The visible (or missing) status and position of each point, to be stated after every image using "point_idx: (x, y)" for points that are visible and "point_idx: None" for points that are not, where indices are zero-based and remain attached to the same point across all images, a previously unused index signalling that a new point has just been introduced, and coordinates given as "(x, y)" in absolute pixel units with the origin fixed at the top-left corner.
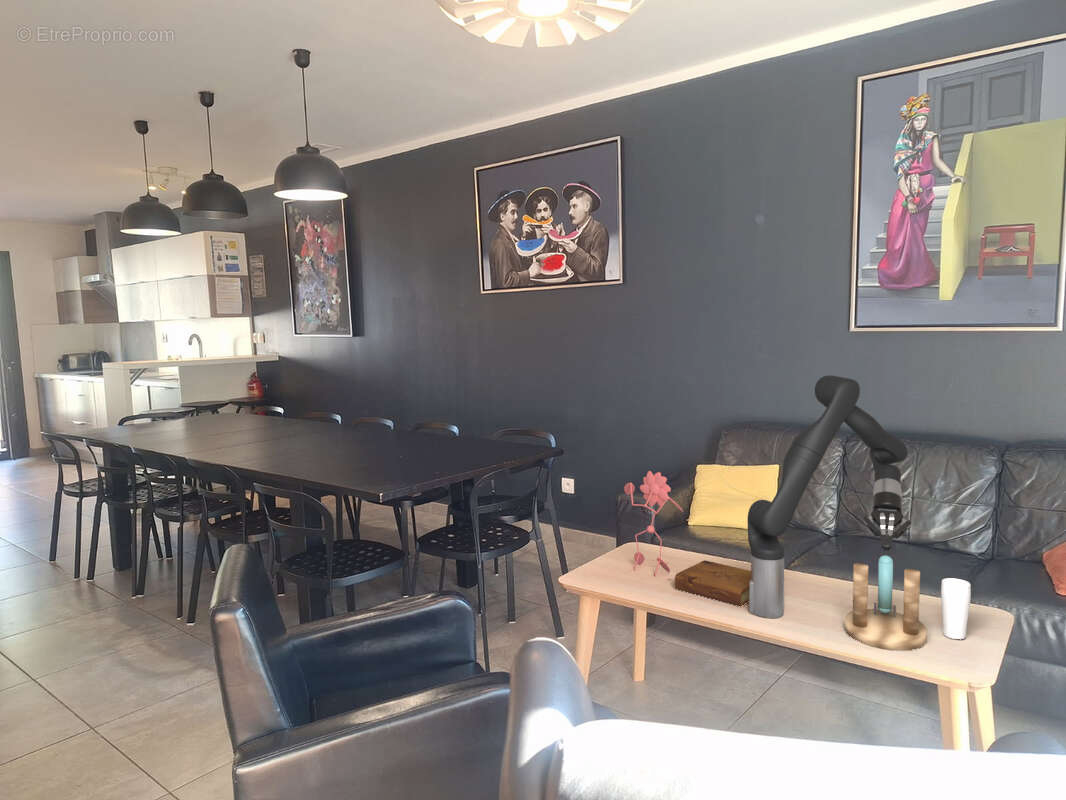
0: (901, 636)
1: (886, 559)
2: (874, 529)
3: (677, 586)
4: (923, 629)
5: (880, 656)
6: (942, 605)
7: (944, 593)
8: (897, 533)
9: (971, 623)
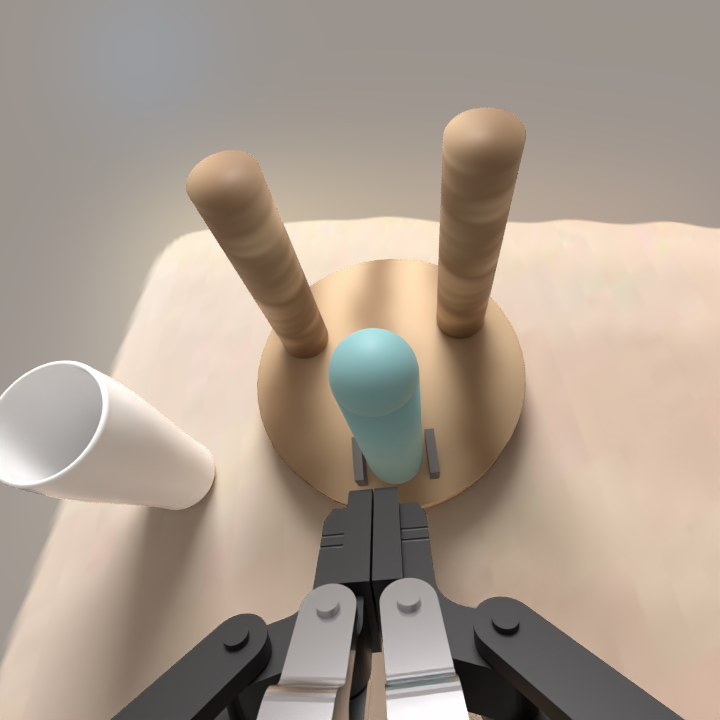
0: (331, 294)
1: (364, 331)
2: (539, 631)
3: None
4: (267, 381)
5: (383, 238)
6: (169, 429)
7: (133, 394)
8: (236, 625)
9: (102, 650)
